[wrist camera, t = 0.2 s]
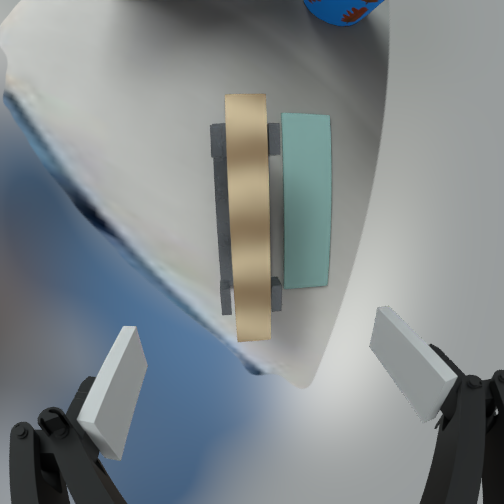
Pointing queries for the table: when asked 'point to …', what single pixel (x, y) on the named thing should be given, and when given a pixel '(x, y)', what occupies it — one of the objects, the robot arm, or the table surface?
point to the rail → (249, 213)
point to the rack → (223, 212)
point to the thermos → (341, 10)
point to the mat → (306, 199)
